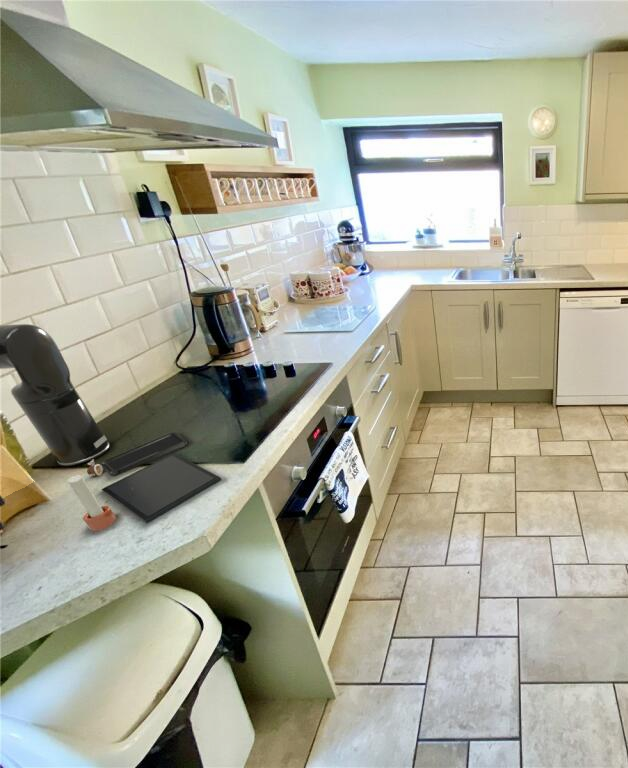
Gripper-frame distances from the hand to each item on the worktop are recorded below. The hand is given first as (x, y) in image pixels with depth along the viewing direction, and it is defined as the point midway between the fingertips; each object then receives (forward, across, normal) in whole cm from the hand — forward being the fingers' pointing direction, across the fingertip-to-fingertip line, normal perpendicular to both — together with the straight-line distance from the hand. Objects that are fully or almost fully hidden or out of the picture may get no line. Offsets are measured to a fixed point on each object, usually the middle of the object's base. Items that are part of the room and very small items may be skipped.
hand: (1, 510), depth 70 cm
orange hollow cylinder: (+9, 0, +11) cm, 14 cm away
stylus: (+9, 0, +10) cm, 14 cm away
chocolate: (+10, +22, +11) cm, 26 cm away
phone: (+19, +22, +11) cm, 31 cm away
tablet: (+19, +4, +11) cm, 23 cm away
